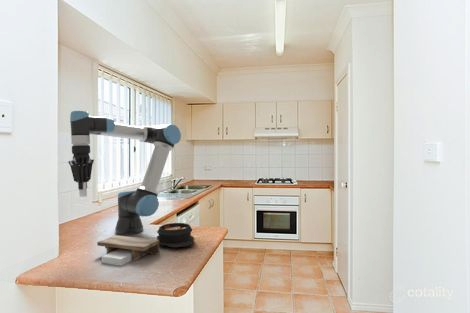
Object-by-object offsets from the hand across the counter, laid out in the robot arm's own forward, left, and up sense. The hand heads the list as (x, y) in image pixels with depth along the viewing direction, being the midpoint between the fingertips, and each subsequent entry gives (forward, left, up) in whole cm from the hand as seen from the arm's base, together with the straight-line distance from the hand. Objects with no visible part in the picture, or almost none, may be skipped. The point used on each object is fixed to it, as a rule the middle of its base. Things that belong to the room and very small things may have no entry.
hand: (83, 196), depth 136 cm
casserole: (-22, +35, -25) cm, 48 cm away
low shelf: (-1, +24, -25) cm, 34 cm away
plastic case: (+3, +25, -25) cm, 35 cm away
